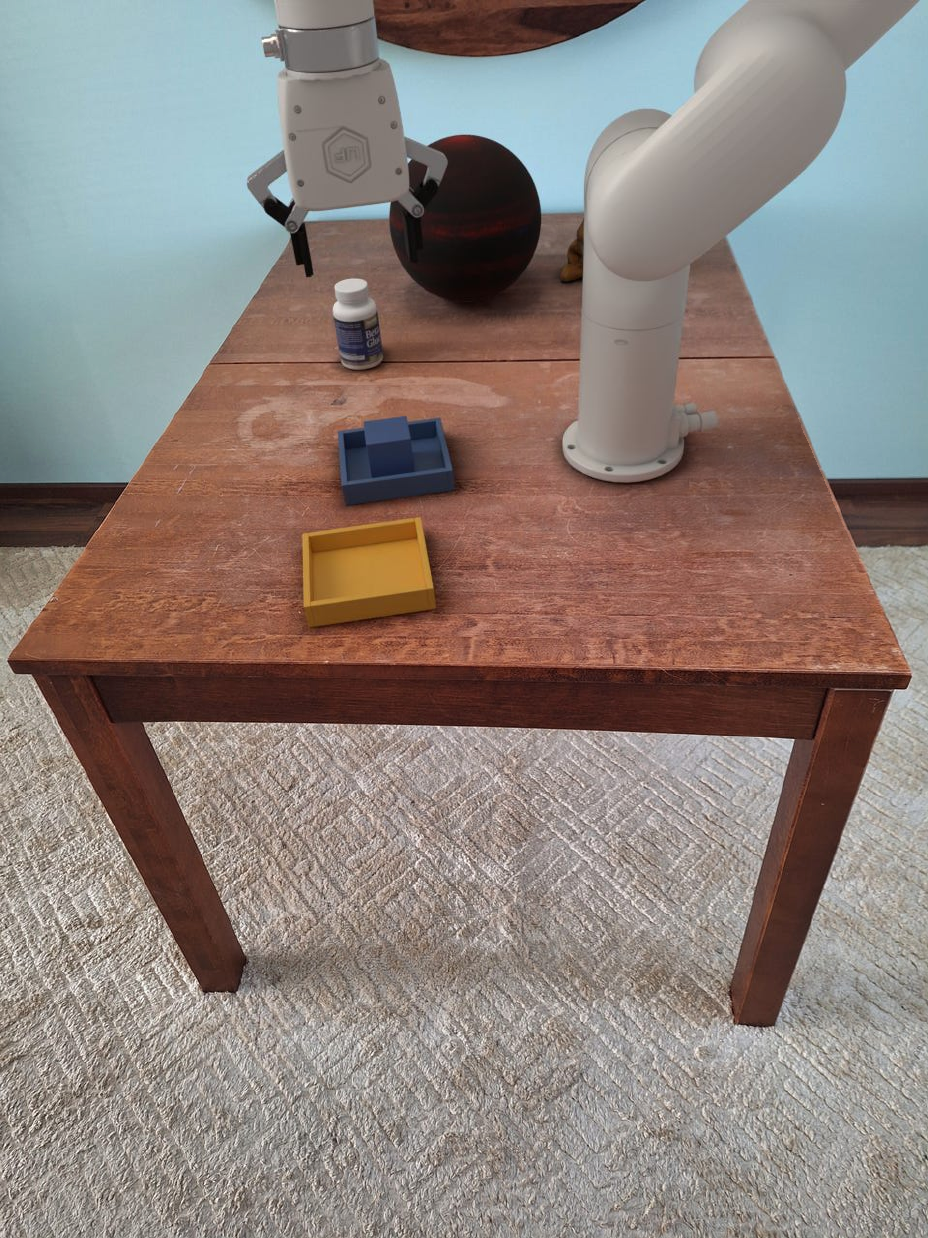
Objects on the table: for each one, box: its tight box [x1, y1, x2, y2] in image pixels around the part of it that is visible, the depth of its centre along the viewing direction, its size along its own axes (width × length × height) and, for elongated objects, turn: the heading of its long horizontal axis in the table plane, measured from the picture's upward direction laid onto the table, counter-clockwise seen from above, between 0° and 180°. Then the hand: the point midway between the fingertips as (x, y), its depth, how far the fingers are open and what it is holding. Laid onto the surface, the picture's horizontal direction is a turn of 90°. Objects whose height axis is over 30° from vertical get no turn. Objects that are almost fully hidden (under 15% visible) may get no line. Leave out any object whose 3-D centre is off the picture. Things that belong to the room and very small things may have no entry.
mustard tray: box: [301, 516, 437, 628], centre depth 78 cm, size 11×10×2 cm
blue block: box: [363, 415, 415, 478], centre depth 90 cm, size 4×4×4 cm
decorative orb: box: [388, 134, 542, 303], centre depth 114 cm, size 20×20×20 cm
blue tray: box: [337, 417, 456, 506], centre depth 91 cm, size 11×10×2 cm
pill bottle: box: [332, 278, 384, 371], centre depth 106 cm, size 5×5×10 cm
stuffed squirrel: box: [559, 217, 584, 283], centre depth 120 cm, size 10×14×13 cm
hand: (360, 264), depth 80 cm, fingers open, 9 cm apart
